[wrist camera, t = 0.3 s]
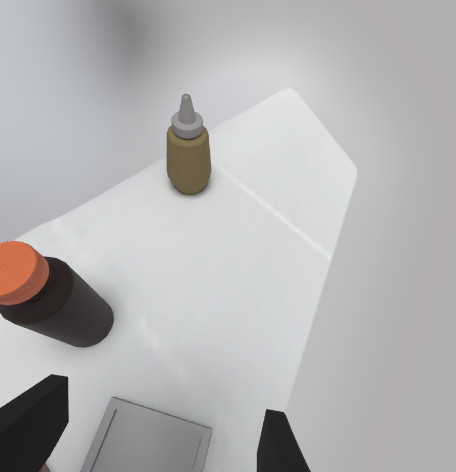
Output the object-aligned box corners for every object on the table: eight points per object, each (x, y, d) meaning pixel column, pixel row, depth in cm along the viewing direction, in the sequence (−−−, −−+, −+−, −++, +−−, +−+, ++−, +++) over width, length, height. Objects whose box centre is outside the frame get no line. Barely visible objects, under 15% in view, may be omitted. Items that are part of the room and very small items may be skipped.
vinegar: (122, 306, 41) (66, 243, 23) (99, 354, 37) (14, 321, 20) (79, 293, 41) (-7, 221, 24) (53, 339, 38) (-70, 294, 20)
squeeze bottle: (177, 205, 51) (168, 121, 35) (162, 174, 54) (148, 85, 38) (217, 192, 53) (225, 108, 37) (200, 163, 56) (201, 75, 41)
